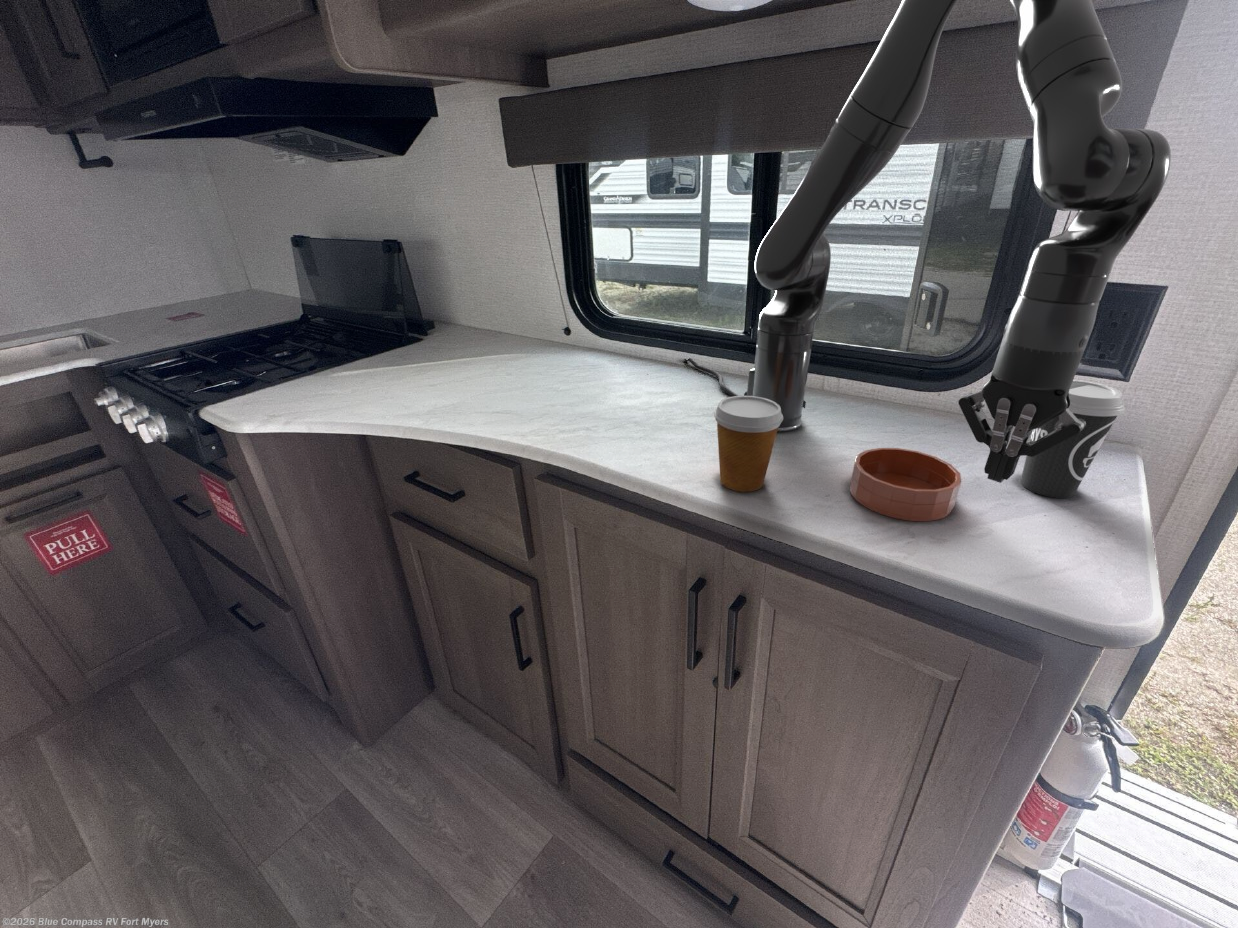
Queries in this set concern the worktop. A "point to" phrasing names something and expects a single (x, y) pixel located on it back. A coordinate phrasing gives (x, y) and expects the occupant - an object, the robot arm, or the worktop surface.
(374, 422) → the worktop surface
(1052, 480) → the coffee cup
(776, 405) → the disposable coffee cup
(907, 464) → the bowl
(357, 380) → the worktop surface
